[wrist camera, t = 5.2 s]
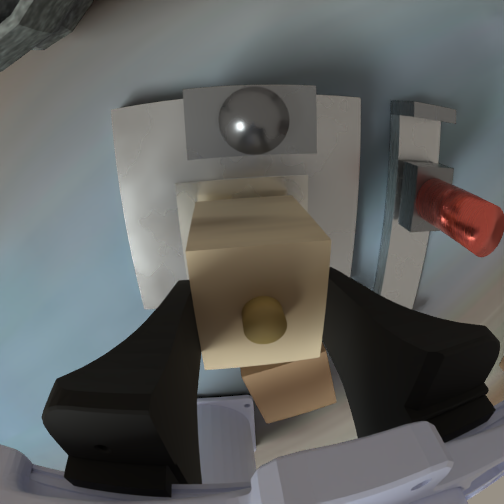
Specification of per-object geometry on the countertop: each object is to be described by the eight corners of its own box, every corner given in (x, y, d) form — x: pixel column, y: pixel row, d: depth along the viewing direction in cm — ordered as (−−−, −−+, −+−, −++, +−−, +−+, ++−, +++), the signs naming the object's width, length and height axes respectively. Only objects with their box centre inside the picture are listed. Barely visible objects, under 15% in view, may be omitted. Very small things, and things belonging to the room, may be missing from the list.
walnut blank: (316, 350, 22) (336, 402, 17) (257, 369, 22) (266, 423, 17) (302, 297, 20) (325, 351, 15) (234, 319, 20) (241, 377, 15)
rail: (401, 319, 22) (415, 338, 19) (366, 325, 21) (380, 347, 19) (431, 107, 15) (456, 109, 13) (390, 100, 15) (414, 101, 13)
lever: (431, 221, 17) (495, 265, 12) (397, 223, 17) (461, 272, 11) (438, 163, 15) (512, 192, 10) (403, 161, 15) (478, 190, 10)
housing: (291, 286, 17) (325, 371, 11) (206, 294, 16) (205, 385, 11) (292, 195, 15) (340, 250, 9) (195, 201, 14) (183, 263, 9)
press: (341, 280, 19) (390, 355, 13) (147, 298, 18) (124, 384, 12) (351, 97, 15) (431, 98, 8) (118, 109, 14) (53, 112, 7)
